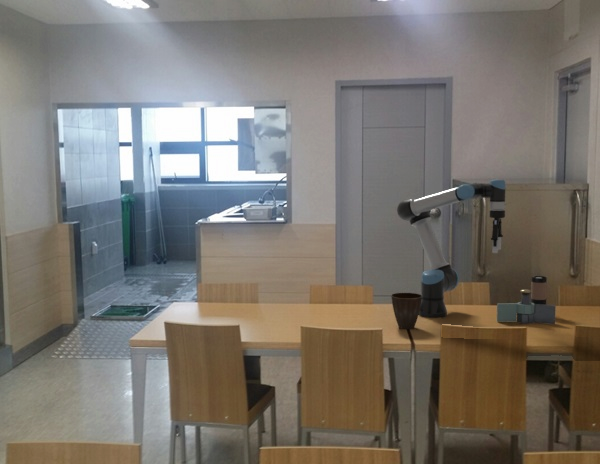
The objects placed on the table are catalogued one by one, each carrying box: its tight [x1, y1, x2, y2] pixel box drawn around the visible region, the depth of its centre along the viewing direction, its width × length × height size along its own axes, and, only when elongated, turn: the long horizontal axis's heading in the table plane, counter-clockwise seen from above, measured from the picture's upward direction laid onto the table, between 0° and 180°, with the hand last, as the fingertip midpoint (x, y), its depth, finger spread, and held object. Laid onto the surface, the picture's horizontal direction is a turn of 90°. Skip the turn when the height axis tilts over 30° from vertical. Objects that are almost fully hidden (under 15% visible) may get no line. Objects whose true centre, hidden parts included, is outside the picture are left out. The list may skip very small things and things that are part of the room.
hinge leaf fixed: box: [516, 304, 557, 325], centre depth 337 cm, size 18×8×9 cm, turn 67°
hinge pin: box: [519, 288, 531, 305], centre depth 339 cm, size 5×5×16 cm
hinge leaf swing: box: [496, 301, 535, 323], centre depth 339 cm, size 18×8×9 cm, turn 87°
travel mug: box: [530, 275, 548, 305], centre depth 354 cm, size 8×8×20 cm
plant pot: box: [390, 292, 422, 330], centre depth 331 cm, size 15×15×16 cm
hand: (496, 251), depth 346 cm, fingers open, 13 cm apart
